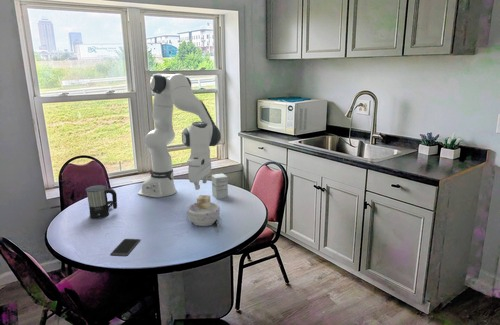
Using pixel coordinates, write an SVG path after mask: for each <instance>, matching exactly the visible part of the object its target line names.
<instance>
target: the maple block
mask: <svg viewBox="0 0 500 325" xmlns="http://www.w3.org/2000/svg"><path fill="white" fill-rule="evenodd" d="M210 202H211V195H209V194H208V195H207V194H206V195H205V194H203V195H202V194H200V195H198V197H196V203H197V209H208V208H209V207H210Z"/></svg>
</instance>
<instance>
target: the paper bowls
mask: <svg viewBox="0 0 500 325" xmlns="http://www.w3.org/2000/svg"><path fill="white" fill-rule="evenodd" d="M187 207H188V208H187V217H188V220H189V221H190V222H192V223H193V224H194V225H196V226H199V227H207V226H212V225H213V224H215V222H216V220H218V219H219V218H220V216H221V213H220V211H221V208H220V205H219V204H218V203H216V202H214V201H213V202H212V201H210V207H209V208H208V209H197V202H193V203H192V204H190V205H189V206H187Z"/></svg>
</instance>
